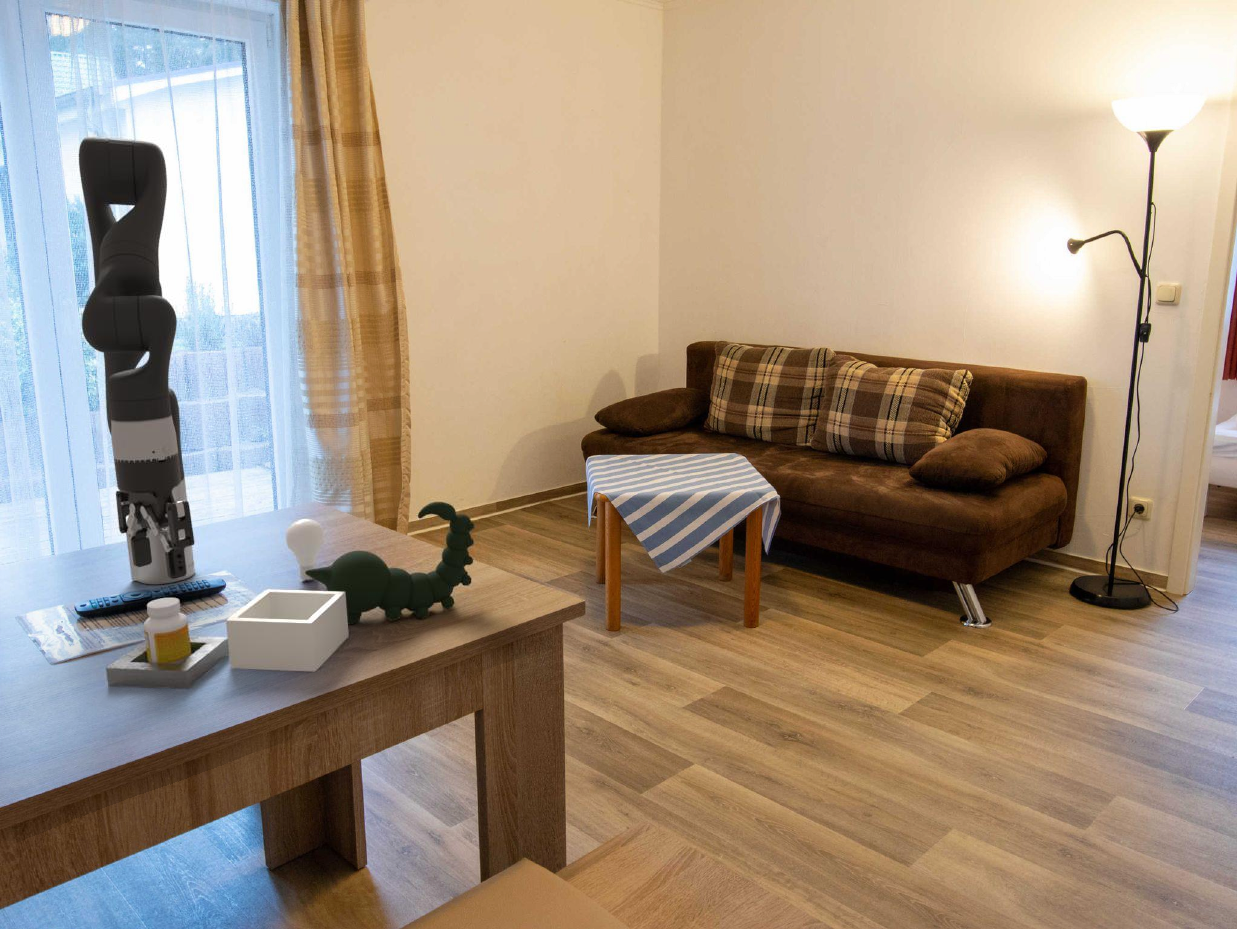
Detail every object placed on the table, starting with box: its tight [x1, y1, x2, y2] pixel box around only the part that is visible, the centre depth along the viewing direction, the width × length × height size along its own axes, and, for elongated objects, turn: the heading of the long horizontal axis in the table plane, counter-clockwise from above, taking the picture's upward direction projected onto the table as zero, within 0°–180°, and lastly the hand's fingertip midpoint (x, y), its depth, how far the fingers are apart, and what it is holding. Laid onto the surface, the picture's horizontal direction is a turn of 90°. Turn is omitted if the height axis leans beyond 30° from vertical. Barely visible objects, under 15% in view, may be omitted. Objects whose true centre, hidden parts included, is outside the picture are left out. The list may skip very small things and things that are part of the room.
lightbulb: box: [285, 518, 326, 582], centre depth 163 cm, size 6×6×11 cm
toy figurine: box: [305, 501, 475, 625], centre depth 146 cm, size 9×19×25 cm
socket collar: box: [105, 635, 230, 690], centre depth 129 cm, size 11×11×2 cm
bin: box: [225, 588, 349, 673], centre depth 134 cm, size 12×12×7 cm
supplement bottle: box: [143, 597, 191, 664], centre depth 129 cm, size 5×5×10 cm
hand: (160, 571), depth 126 cm, fingers open, 8 cm apart
